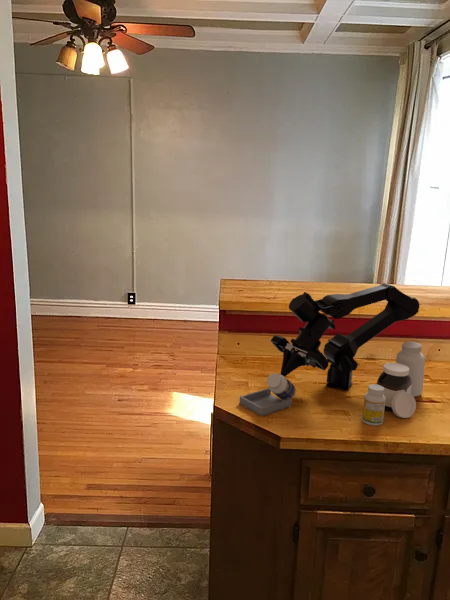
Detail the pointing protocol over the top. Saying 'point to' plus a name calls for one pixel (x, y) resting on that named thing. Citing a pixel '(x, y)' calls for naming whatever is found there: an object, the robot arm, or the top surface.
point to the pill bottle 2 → (413, 365)
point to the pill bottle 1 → (281, 386)
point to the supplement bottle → (374, 405)
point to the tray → (264, 402)
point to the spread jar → (397, 389)
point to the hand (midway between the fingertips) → (282, 376)
